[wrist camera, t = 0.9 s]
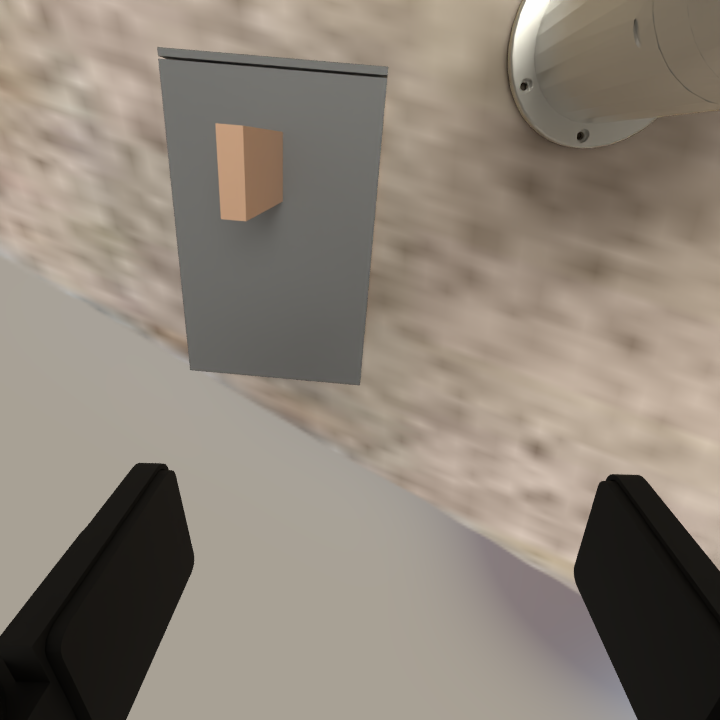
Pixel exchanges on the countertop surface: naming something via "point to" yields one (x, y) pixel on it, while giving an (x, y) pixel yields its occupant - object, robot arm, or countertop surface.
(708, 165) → the countertop surface
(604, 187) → the countertop surface
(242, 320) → the lid
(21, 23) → the countertop surface
